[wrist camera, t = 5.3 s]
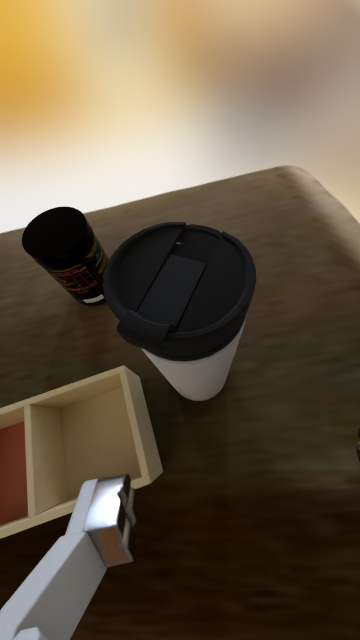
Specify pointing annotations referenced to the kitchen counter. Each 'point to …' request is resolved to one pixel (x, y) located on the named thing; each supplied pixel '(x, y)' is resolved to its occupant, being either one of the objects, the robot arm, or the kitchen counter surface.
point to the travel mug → (182, 301)
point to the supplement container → (68, 252)
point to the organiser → (72, 446)
